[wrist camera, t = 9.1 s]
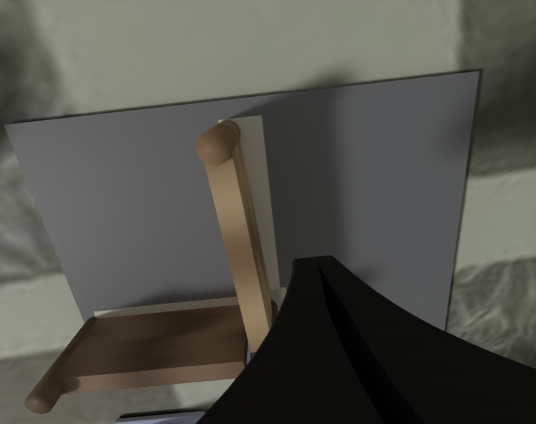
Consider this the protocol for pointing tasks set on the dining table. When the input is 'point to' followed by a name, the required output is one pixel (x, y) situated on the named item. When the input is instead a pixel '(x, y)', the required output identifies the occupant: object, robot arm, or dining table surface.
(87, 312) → the card
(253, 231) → the gate panel
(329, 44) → the dining table surface
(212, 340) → the fence
